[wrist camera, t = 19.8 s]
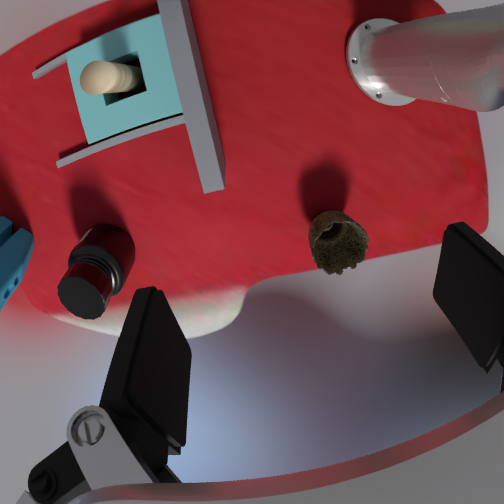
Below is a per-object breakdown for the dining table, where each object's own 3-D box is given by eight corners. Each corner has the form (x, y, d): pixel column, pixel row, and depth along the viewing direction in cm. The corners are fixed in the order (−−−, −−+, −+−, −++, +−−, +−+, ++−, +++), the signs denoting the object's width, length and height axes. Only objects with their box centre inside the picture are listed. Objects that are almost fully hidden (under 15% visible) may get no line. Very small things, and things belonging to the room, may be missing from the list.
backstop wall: (180, -32, 22) (166, -65, 13) (225, 163, 36) (224, 189, 28) (30, 36, 23) (-13, 33, 14) (77, 206, 37) (44, 239, 29)
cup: (341, 190, 39) (364, 213, 33) (352, 233, 43) (373, 262, 36) (292, 208, 40) (305, 236, 34) (307, 250, 44) (321, 282, 37)
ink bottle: (79, 219, 39) (41, 263, 28) (132, 220, 39) (104, 267, 29) (90, 273, 43) (63, 323, 33) (139, 276, 44) (119, 331, 34)
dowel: (144, 63, 29) (107, 54, 18) (149, 86, 30) (114, 86, 20) (120, 72, 29) (76, 69, 19) (126, 94, 30) (83, 99, 20)
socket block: (171, 22, 26) (162, 13, 22) (191, 108, 32) (185, 111, 28) (83, 56, 26) (65, 54, 22) (104, 136, 33) (88, 144, 29)
